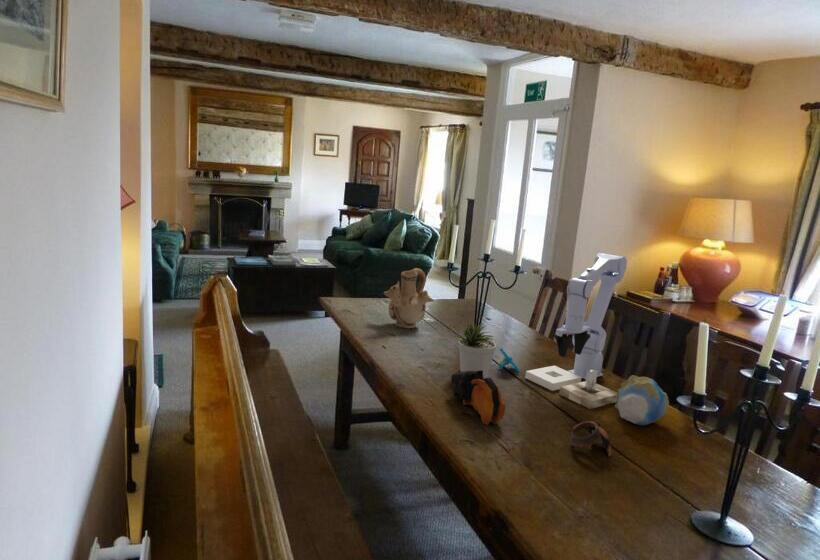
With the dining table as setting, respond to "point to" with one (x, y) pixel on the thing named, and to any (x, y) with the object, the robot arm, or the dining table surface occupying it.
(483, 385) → the tool
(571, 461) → the dining table surface
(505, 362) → the blue irregular piece
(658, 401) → the decorative rock
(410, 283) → the ceramic vessel
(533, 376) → the socket block
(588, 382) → the steel peg
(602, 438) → the pottery mug
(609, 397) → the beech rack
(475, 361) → the potted plant
